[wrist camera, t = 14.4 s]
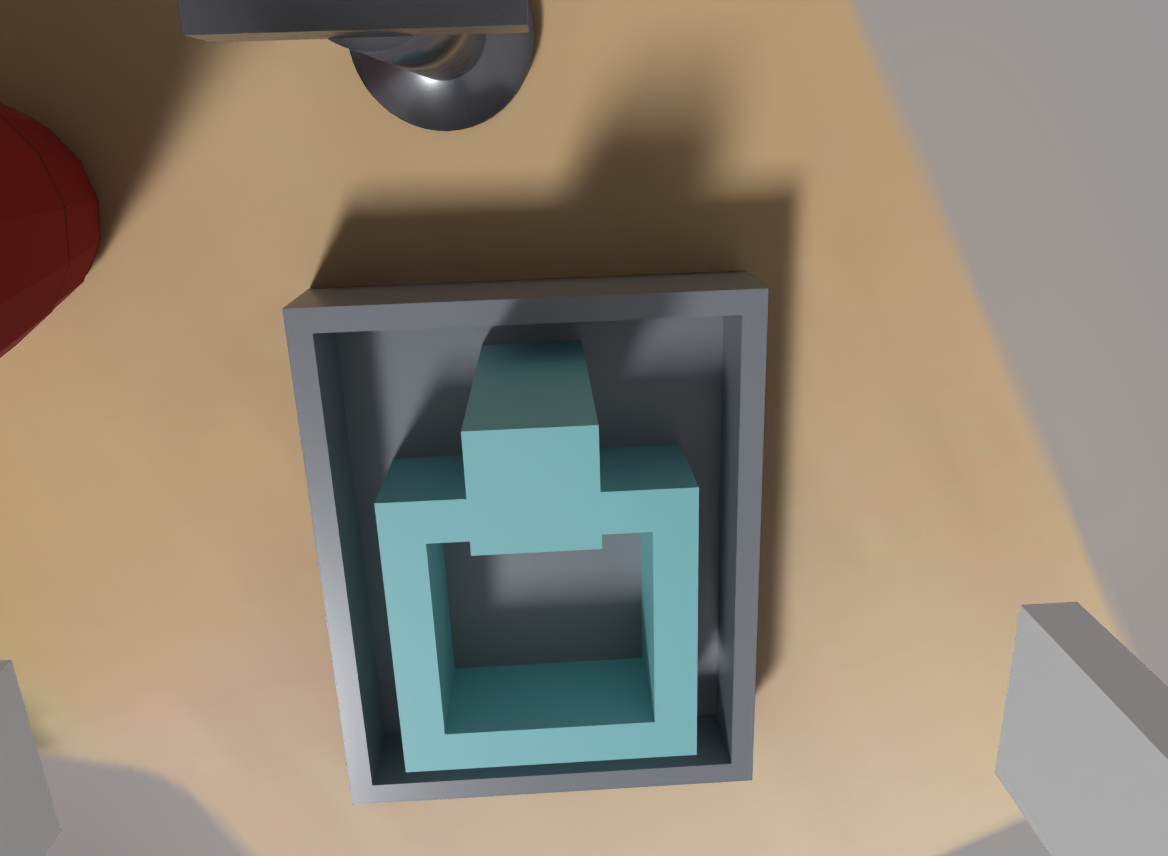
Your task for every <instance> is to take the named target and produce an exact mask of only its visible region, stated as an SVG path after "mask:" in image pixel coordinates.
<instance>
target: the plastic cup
mask: <svg viewBox="0 0 1168 856" xmlns="http://www.w3.org/2000/svg"><path fill="white" fill-rule="evenodd" d="M99 242H100V223H99V207H98V199H97V197H96V195H95V192H94V190H93V188H92V186H91V184H90V182H89V180H88V177H87V175H86V173H85V171H84V169H83V167H82V164H81V162H80V161H79V160H78V159H77V158H76V157H75V156H74V155H73V154H72V153H71V151H70V150H69V149H68V148H67V147H66V146H65V145H64V144H63V143H62V142H61V141H60V140H59V139H58V138H57V137H56V136H55V135H54V134H53V133H52V132H51V131H50V130H49V129H48V128H46V127H44V126H42V124H41V123H39V122H37V121H35V120H33V119H31V118H29V117H27V116H25V115H23V114H21V113H19V112H17V111H15V110H13V109H11V108H9V107H7V106H5V105H3V104H1V103H0V358H1V357H2V356H3V355H4V354H6V353H7V352H8V351H9V350H11V349H12V348H13V347H14V346H16V345H17V344H18V343H19V342H20V341H21V340H22V339H23V338H24V337H25V336H26V335H27V334H29V333H30V332H31V331H32V330H33V329H34V328H35V327H36V326H37V325H38V324H39V323H40V322H41V321H43V320H44V319H45V318H46V317H47V316H48V315H49V314H50V313H51V312H52V311H53V309H55V308H56V307H57V306H58V305H59V304H60V303H61V302H62V301H63V300H64V299H65V298H66V297H67V296H69V295H70V294H71V293H72V292H73V291H74V290H75V289H76V288H77V287H78V286H79V285H80V284H81V283H83V282H84V279H85V276H86V274H88V271H89V269H90V266H91V263H92V261H93V258H94V255H95V253H96V250H97V247H98V245H99Z"/></svg>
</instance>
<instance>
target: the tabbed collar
mask: <svg viewBox="0 0 1168 856" xmlns="http://www.w3.org/2000/svg"><path fill="white" fill-rule="evenodd" d="M461 439H462V451H463V455H456V456H436V457H415V458H394V459H393V460H392V463H391V465H390V467H389V470H388V472H387V474H386V477H385V479H384V482H383V484H382V486H381V489H380V491H379V493H378V496H377V498H376V501H375V503H374V505H375V514H376V522H377V531H378V540H379V548H380V557H381V565H382V574H383V582H384V591H385V599H386V608H387V616H388V625H389V633H390V642H391V650H392V659H393V667H394V676H395V684H396V693H397V701H398V710H399V718H400V727H401V735H402V744H403V752H404V761H405V769H406V772H420V771H437V770H453V769H470V768H486V767H503V766H519V765H536V764H552V763H569V762H585V761H602V760H618V759H635V758H651V757H668V756H684V755H697V661H698V544H699V486H698V484H697V482H696V479H695V477H694V475H693V473H692V470H691V468H690V466H689V463H688V461H687V459H686V457H685V454H684V452H683V450H682V448H681V445H664V446H643V447H622V448H601V449H599V424H598V420H597V415H596V410H595V405H594V400H593V395H592V390H591V385H590V380H589V375H588V370H587V365H586V360H585V355H584V350H583V345H582V340H581V341H558V342H536V343H513V344H490V345H482V346H481V350H480V355H479V359H478V363H477V367H476V371H475V375H474V379H473V384H472V388H471V392H470V396H469V400H468V404H467V408H466V413H465V417H464V421H463V425H462V429H461ZM624 533H640V540H641V610H642V658H631V659H613V660H595V661H578V662H560V663H542V664H525V665H507V666H489V667H472V668H455V667H454V656H453V646H452V635H451V624H450V613H449V602H448V591H447V580H446V570H445V559H444V548H443V543H450V542H469V541H470V549H471V556H478V555H497V554H516V553H535V552H554V551H573V550H592V549H602V535H605V534H624Z"/></svg>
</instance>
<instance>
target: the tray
mask: <svg viewBox="0 0 1168 856" xmlns="http://www.w3.org/2000/svg"><path fill="white" fill-rule="evenodd" d="M768 291H769V288H767V287H766V286H765V285H763V284H762V283H760V282H759V281H758V280H756V279H755V278H754V277H752V276H751V275H750V274H748V273H747V272H745V271H728V272H704V273H679V274H655V275H630V276H606V277H581V278H557V279H533V280H508V281H484V282H459V283H435V284H410V285H386V286H362V287H337V288H313V289H308V290H307V291H305V292H304V293H303V294H301V295H300V296H299V297H297V298H296V299H295V300H293V301H292V302H291V303H289V304H288V305H287V306H285V307H284V308H283V316H284V323H285V330H286V337H287V344H288V352H289V359H290V366H291V373H292V380H293V387H294V394H295V401H296V408H297V415H298V422H299V429H300V436H301V443H302V450H303V457H304V464H305V471H306V478H307V485H308V493H309V500H310V507H311V514H312V521H313V528H314V535H315V542H316V549H317V556H318V563H319V570H320V577H321V584H322V591H323V598H324V605H325V612H326V619H327V627H328V634H329V641H330V648H331V655H332V662H333V669H334V676H335V683H336V690H337V697H338V704H339V711H340V718H341V725H342V732H343V739H344V746H345V753H346V760H347V768H348V775H349V782H350V789H351V796H352V803H353V805H356V804H372V803H389V802H405V801H421V800H437V799H454V798H470V797H486V796H503V795H519V794H535V793H551V792H568V791H584V790H600V789H617V788H633V787H649V786H665V785H682V784H698V783H714V782H731V781H747V780H752V771H753V741H754V711H755V681H756V651H757V621H758V591H759V561H760V531H761V501H762V471H763V441H764V411H765V381H766V351H767V321H768ZM581 340H582V345H583V350H584V355H585V360H586V365H587V370H588V375H589V380H590V385H591V390H592V395H593V400H594V405H595V410H596V415H597V420H598V424H599V449H601V448H622V447H643V446H664V445H681V448H682V450H683V452H684V454H685V457H686V459H687V461H688V463H689V466H690V468H691V470H692V473H693V475H694V477H695V479H696V482H697V484H698V486H699V544H698V661H697V755H684V756H668V757H651V758H635V759H618V760H602V761H585V762H569V763H552V764H536V765H519V766H503V767H486V768H470V769H453V770H437V771H420V772H406V769H405V761H404V752H403V744H402V735H401V727H400V718H399V710H398V701H397V693H396V684H395V676H394V667H393V659H392V650H391V642H390V633H389V625H388V616H387V608H386V599H385V591H384V582H383V574H382V565H381V557H380V548H379V540H378V531H377V522H376V514H375V505H374V503H375V501H376V498H377V496H378V493H379V491H380V489H381V486H382V484H383V482H384V479H385V477H386V474H387V472H388V470H389V467H390V465H391V463H392V460H393V459H394V458H415V457H436V456H456V455H463V451H462V439H461V429H462V425H463V421H464V417H465V413H466V408H467V404H468V400H469V396H470V392H471V388H472V384H473V379H474V375H475V371H476V367H477V363H478V359H479V355H480V350H481V346H482V345H490V344H513V343H536V342H558V341H581ZM443 548H444V559H445V570H446V580H447V591H448V602H449V613H450V624H451V635H452V646H453V656H454V667H455V668H472V667H489V666H507V665H525V664H542V663H560V662H578V661H595V660H613V659H631V658H642V610H641V540H640V533H624V534H605V535H602V549H592V550H573V551H554V552H535V553H516V554H497V555H478V556H471V549H470V541H469V542H450V543H443Z"/></svg>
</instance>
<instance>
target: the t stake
mask: <svg viewBox="0 0 1168 856" xmlns="http://www.w3.org/2000/svg"><path fill="white" fill-rule="evenodd" d="M177 4H178V10H179V16H180V23H181V29H182V35H183V36H187V37H192V38H196V39H200V40H205V41H209V42H234V41H266V40H298V39H329V40H331V41H332V42H334V43H337V44H339V45H341V46H343V47H346V48H349V50H350V53H351V57H352V60H353V63H354V65H355V68H356V70H357V72H358V74H359V76H360V78H361V80H362V81H363V83H364V85H365V86H366V88H367V89H368V90H369V92H370V93H371V94H372V96H373V97H374V98H375V99H376V100H377V101H378V102H379V103H380V104H381V105H382V106H383V107H384V108H386V109H387V110H388V111H389V112H391V113H392V114H394V115H395V116H397V117H398V118H400V119H402V120H404V121H406V122H408V123H410V124H412V125H415V126H418V127H422V128H425V129H431V130H437V131H452V130H461V129H465V128H469V127H473V126H476V125H478V124H481V123H483V122H485V121H487V120H489V119H490V118H492V117H494V116H495V115H496V114H498V113H499V112H500V111H501V110H503V109H504V108H505V107H506V106H507V105H508V104H509V103H510V102H511V101H512V99H513V98H514V97H515V95H516V94H517V93H518V91H519V89H520V88H521V86H522V84H523V82H524V80H525V78H526V75H527V73H528V70H529V67H530V63H531V60H532V54H533V47H534V26H533V17H532V12H531V8H530V4H529V1H528V0H177Z"/></svg>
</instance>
